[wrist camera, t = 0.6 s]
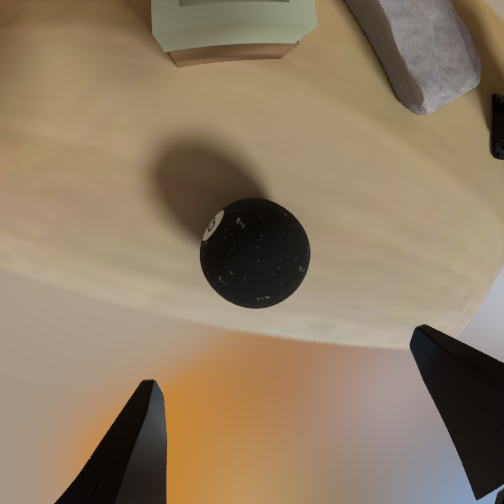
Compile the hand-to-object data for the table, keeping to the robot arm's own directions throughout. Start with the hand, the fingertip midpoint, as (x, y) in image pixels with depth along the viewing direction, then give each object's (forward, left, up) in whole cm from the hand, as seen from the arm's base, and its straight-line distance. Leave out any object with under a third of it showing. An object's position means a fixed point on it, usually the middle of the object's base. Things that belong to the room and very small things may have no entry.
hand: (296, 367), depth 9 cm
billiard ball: (0, 0, -12) cm, 12 cm away
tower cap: (0, -14, -8) cm, 16 cm away
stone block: (-14, -15, -12) cm, 23 cm away
